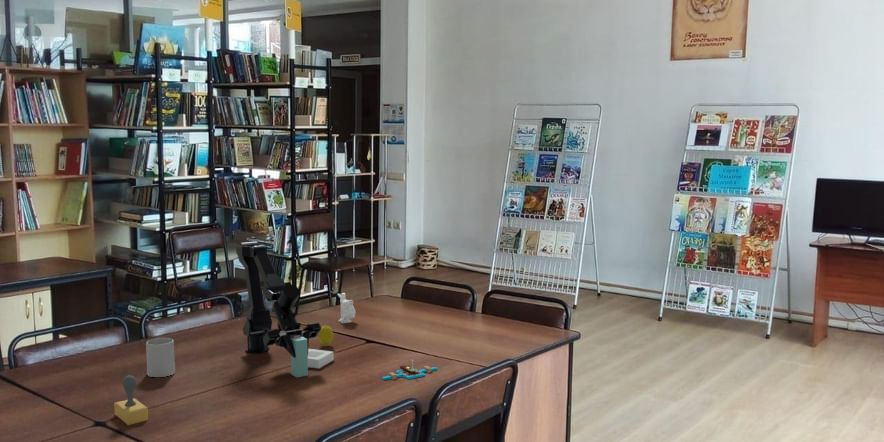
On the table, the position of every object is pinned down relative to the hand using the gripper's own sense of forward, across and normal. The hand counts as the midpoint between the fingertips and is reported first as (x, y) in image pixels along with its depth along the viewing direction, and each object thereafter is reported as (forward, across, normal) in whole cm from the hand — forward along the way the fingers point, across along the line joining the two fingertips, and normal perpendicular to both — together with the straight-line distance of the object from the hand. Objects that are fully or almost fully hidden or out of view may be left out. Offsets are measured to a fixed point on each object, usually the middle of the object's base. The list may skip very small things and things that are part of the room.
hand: (301, 356), depth 247 cm
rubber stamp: (+8, +54, -2) cm, 55 cm away
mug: (-17, +36, -26) cm, 47 cm away
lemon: (-13, -23, -23) cm, 35 cm away
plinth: (-3, -10, -12) cm, 16 cm away
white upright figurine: (-32, -46, -42) cm, 70 cm away
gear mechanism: (+18, -29, +8) cm, 36 cm away
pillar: (+4, 0, -6) cm, 7 cm away
